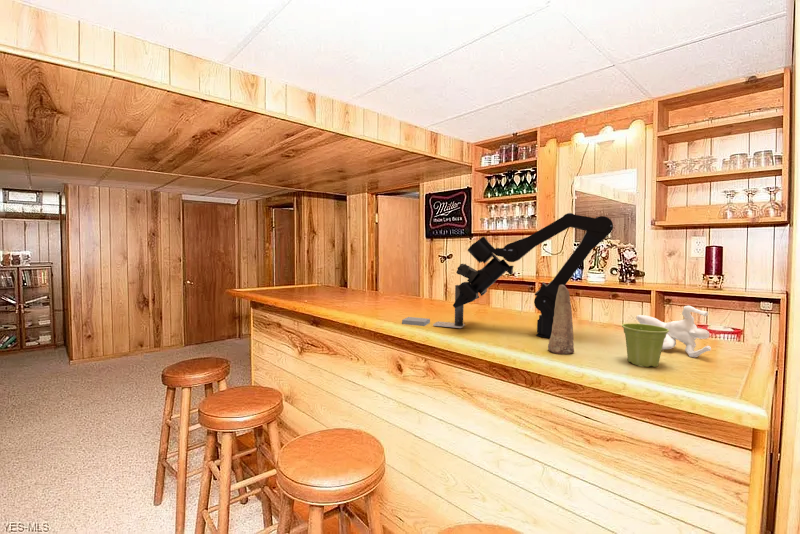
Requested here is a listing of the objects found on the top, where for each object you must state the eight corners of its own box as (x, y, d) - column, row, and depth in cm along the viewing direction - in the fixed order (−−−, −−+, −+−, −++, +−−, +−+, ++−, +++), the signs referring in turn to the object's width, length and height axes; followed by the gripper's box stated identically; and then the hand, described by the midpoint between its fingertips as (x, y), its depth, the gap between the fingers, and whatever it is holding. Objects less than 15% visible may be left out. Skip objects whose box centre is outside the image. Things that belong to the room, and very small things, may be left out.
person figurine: (624, 307, 109) (706, 303, 97) (635, 312, 118) (711, 308, 106) (629, 356, 106) (714, 357, 94) (639, 357, 115) (718, 358, 103)
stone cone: (543, 353, 103) (565, 359, 98) (541, 286, 100) (564, 289, 95) (557, 346, 107) (579, 352, 102) (556, 281, 104) (578, 284, 99)
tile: (429, 318, 137) (408, 316, 140) (424, 322, 131) (402, 320, 134) (429, 323, 137) (408, 321, 140) (424, 327, 131) (402, 325, 134)
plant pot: (624, 355, 100) (625, 321, 99) (669, 363, 94) (671, 326, 93) (616, 363, 92) (618, 327, 92) (664, 372, 86) (666, 333, 86)
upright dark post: (465, 325, 131) (465, 284, 131) (461, 328, 127) (462, 286, 126) (437, 322, 135) (438, 283, 134) (433, 325, 131) (433, 284, 130)
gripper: (478, 254, 135) (446, 285, 140) (465, 256, 118) (429, 290, 123) (501, 278, 133) (467, 308, 138) (491, 283, 116) (453, 317, 121)
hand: (455, 306), depth 130 cm, fingers closed on upright dark post, 3 cm apart
